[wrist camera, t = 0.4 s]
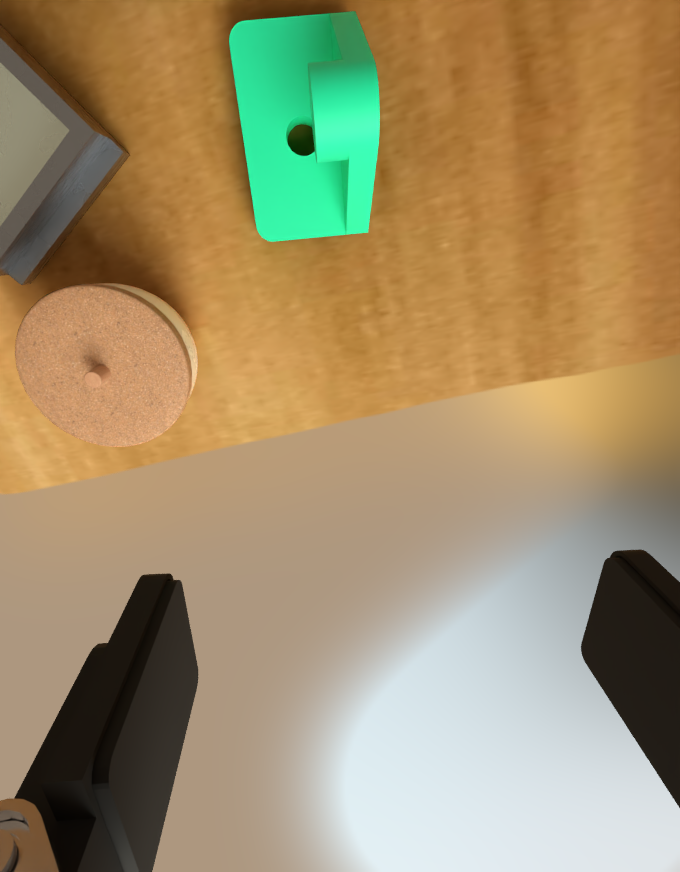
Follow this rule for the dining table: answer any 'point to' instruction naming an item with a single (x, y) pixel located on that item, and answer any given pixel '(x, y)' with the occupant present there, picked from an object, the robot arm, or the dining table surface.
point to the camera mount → (308, 122)
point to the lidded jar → (107, 362)
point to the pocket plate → (44, 162)
